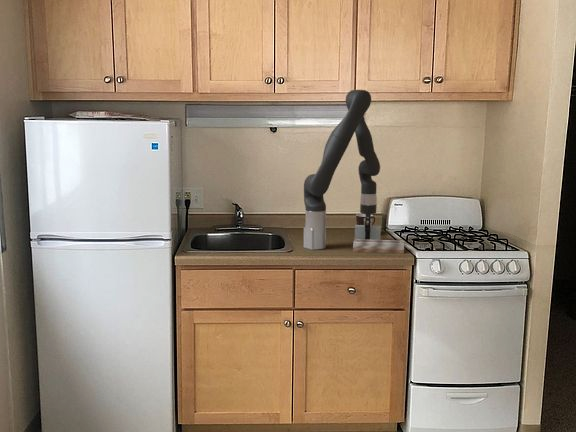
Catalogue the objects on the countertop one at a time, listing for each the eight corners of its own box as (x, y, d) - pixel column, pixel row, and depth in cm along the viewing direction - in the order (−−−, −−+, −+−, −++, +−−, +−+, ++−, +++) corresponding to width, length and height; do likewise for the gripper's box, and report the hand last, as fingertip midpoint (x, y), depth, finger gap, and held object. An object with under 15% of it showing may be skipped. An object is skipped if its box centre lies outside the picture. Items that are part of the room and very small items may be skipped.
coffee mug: (359, 236, 285) (359, 217, 284) (353, 233, 294) (353, 214, 292) (381, 235, 288) (381, 216, 287) (374, 232, 297) (374, 213, 295)
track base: (352, 251, 253) (353, 242, 253) (354, 247, 262) (354, 238, 261) (403, 253, 250) (404, 244, 249) (403, 249, 258) (403, 240, 258)
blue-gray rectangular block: (354, 242, 270) (354, 226, 269) (354, 241, 274) (355, 224, 273) (380, 243, 268) (380, 227, 267) (380, 242, 272) (380, 225, 271)
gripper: (361, 200, 275) (360, 236, 278) (359, 205, 262) (358, 242, 264) (376, 201, 274) (375, 236, 277) (376, 205, 260) (375, 242, 263)
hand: (367, 239), depth 271 cm, fingers closed on blue-gray rectangular block, 3 cm apart
